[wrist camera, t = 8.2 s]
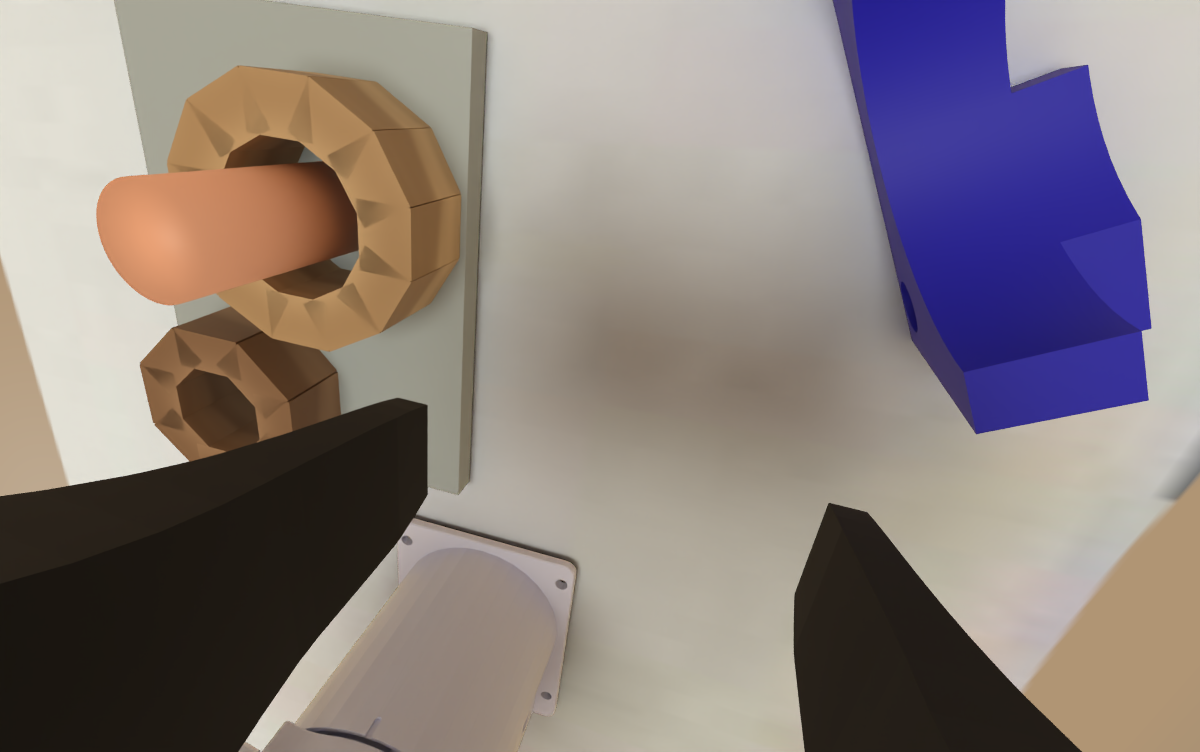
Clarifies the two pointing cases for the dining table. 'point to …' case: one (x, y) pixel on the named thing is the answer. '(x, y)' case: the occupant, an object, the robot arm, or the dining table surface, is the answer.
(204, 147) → the oak bead
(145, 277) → the orange rounded peg
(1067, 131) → the blue curved cradle
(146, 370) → the walnut bead
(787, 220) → the dining table surface
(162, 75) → the board
